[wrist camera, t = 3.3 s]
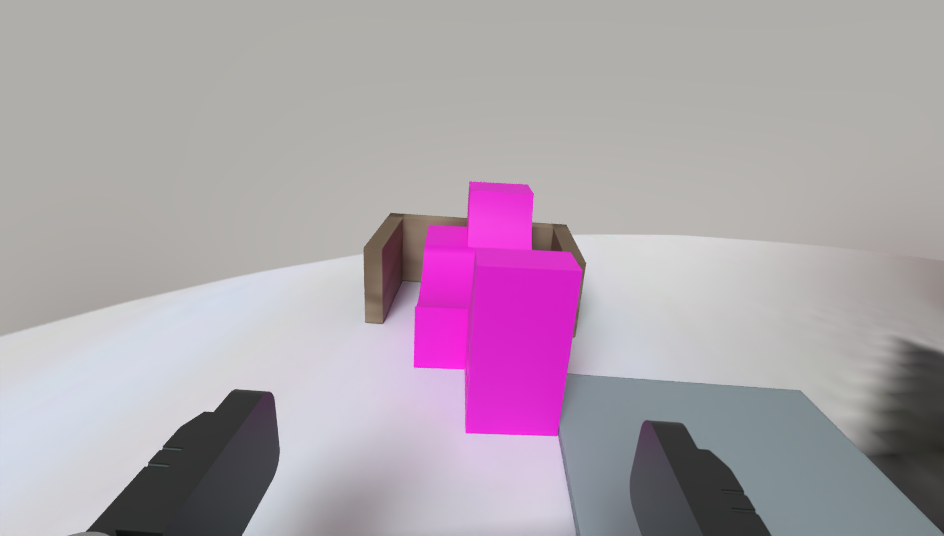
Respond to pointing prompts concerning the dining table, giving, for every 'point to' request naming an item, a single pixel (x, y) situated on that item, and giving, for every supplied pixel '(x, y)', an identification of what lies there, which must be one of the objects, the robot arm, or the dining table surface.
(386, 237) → the walnut bracket
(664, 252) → the dining table surface
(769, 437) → the slate mat
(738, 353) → the dining table surface
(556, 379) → the toy block
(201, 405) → the dining table surface
